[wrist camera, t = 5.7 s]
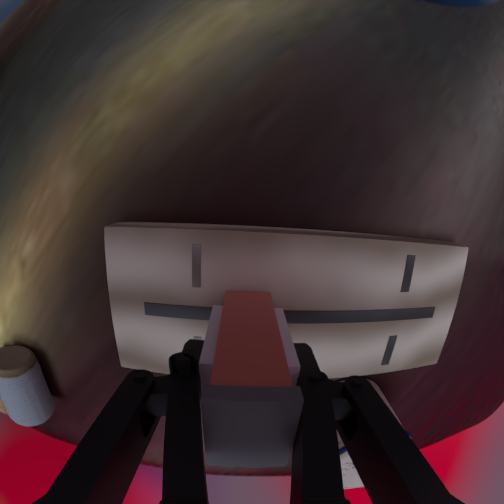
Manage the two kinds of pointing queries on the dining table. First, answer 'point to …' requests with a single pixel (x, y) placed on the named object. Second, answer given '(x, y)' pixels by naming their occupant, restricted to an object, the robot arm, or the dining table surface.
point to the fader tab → (249, 388)
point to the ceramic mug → (24, 387)
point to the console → (284, 290)
